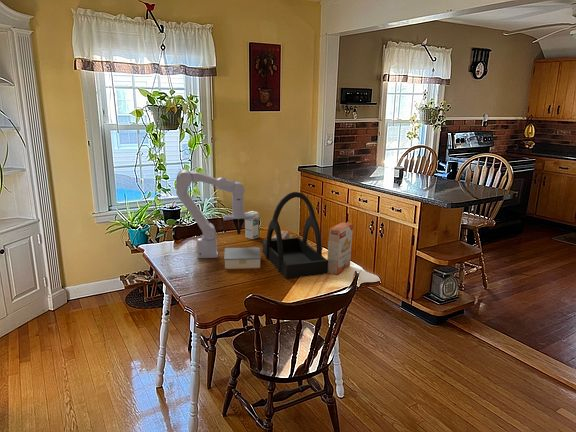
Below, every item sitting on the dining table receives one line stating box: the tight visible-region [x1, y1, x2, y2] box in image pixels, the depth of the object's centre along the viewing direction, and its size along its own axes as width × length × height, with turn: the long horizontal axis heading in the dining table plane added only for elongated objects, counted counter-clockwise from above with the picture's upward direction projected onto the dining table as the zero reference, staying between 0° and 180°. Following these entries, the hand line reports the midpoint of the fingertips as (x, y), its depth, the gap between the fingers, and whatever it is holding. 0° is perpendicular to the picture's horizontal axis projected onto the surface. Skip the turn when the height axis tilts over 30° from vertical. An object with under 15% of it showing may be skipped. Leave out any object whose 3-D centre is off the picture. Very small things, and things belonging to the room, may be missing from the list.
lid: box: [223, 247, 262, 261], centre depth 203 cm, size 17×15×1 cm
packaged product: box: [271, 229, 293, 240], centre depth 236 cm, size 18×5×10 cm
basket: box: [262, 191, 329, 280], centre depth 202 cm, size 35×21×35 cm, turn 20°
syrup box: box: [244, 210, 260, 240], centre depth 241 cm, size 6×6×14 cm
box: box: [224, 259, 261, 270], centre depth 204 cm, size 16×14×4 cm
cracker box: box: [326, 221, 354, 276], centre depth 197 cm, size 14×6×21 cm, turn 148°
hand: (238, 233), depth 214 cm, fingers closed
